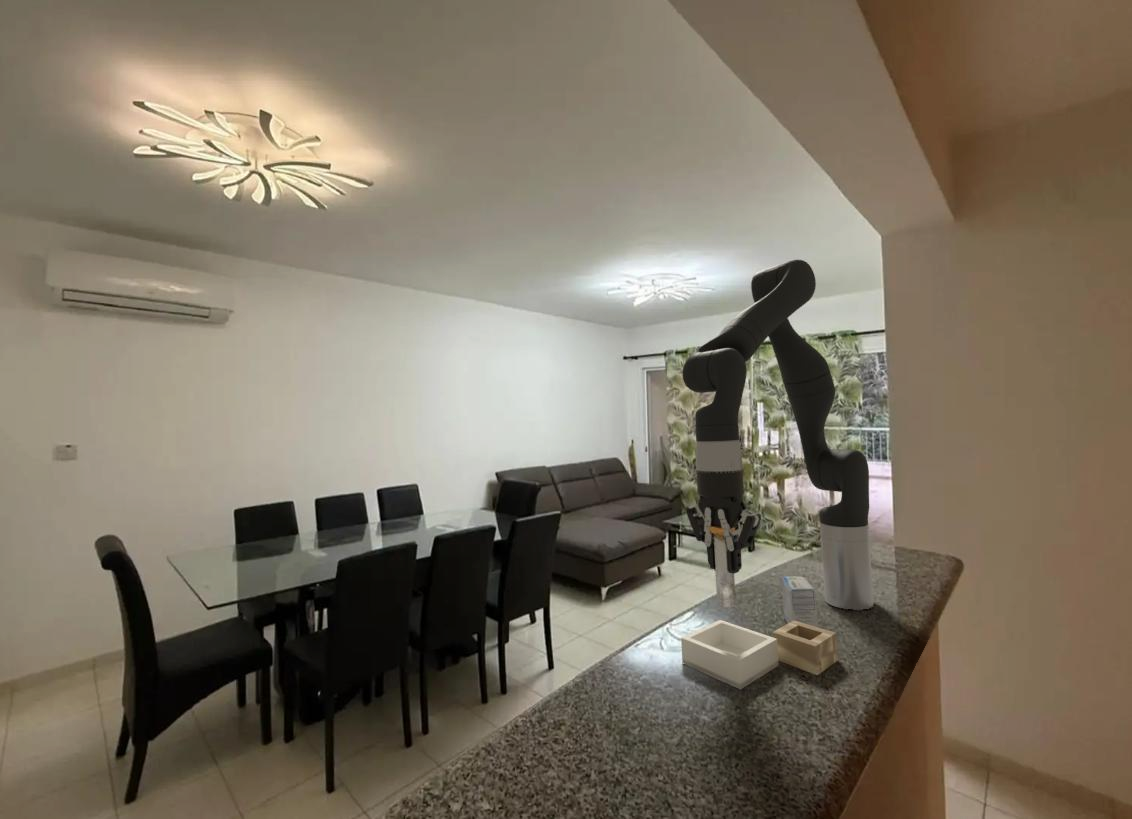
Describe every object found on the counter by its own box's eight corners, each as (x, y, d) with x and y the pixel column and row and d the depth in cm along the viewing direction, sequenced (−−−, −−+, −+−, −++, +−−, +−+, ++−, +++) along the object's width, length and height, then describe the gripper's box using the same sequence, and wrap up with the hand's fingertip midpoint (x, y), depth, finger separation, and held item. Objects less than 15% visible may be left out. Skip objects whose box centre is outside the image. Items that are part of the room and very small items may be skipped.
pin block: (795, 646, 86) (794, 620, 86) (838, 660, 81) (836, 632, 81) (774, 659, 82) (772, 632, 82) (817, 675, 76) (815, 646, 76)
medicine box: (819, 636, 90) (816, 589, 90) (793, 635, 91) (790, 588, 91) (806, 619, 97) (804, 576, 98) (783, 618, 98) (780, 575, 99)
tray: (721, 643, 89) (720, 619, 89) (778, 665, 80) (777, 638, 80) (682, 663, 82) (681, 637, 82) (740, 689, 73) (738, 660, 73)
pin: (723, 597, 84) (718, 522, 85) (745, 603, 81) (741, 525, 81) (707, 603, 82) (703, 525, 82) (730, 610, 78) (725, 529, 79)
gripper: (769, 467, 79) (776, 574, 78) (698, 464, 90) (703, 558, 89) (743, 471, 74) (749, 585, 74) (672, 467, 85) (677, 566, 85)
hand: (724, 569), depth 81 cm, fingers closed on pin, 3 cm apart
